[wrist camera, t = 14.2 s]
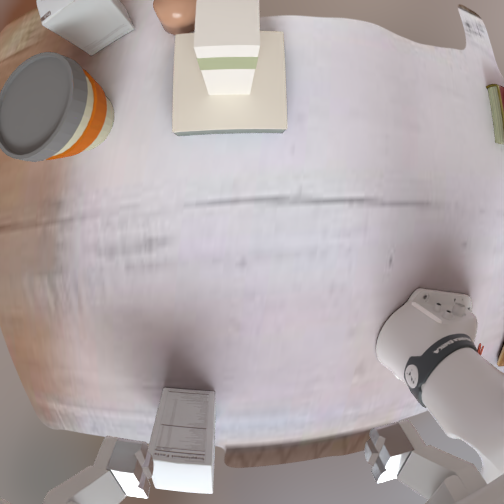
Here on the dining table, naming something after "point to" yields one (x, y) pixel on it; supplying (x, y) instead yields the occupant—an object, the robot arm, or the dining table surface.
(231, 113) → the podium
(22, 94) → the reusable coffee cup
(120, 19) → the skincare box
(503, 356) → the tan ankle boot
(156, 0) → the peach cylinder
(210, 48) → the carton
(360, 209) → the dining table surface
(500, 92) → the hardcover book
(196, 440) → the supplement box
